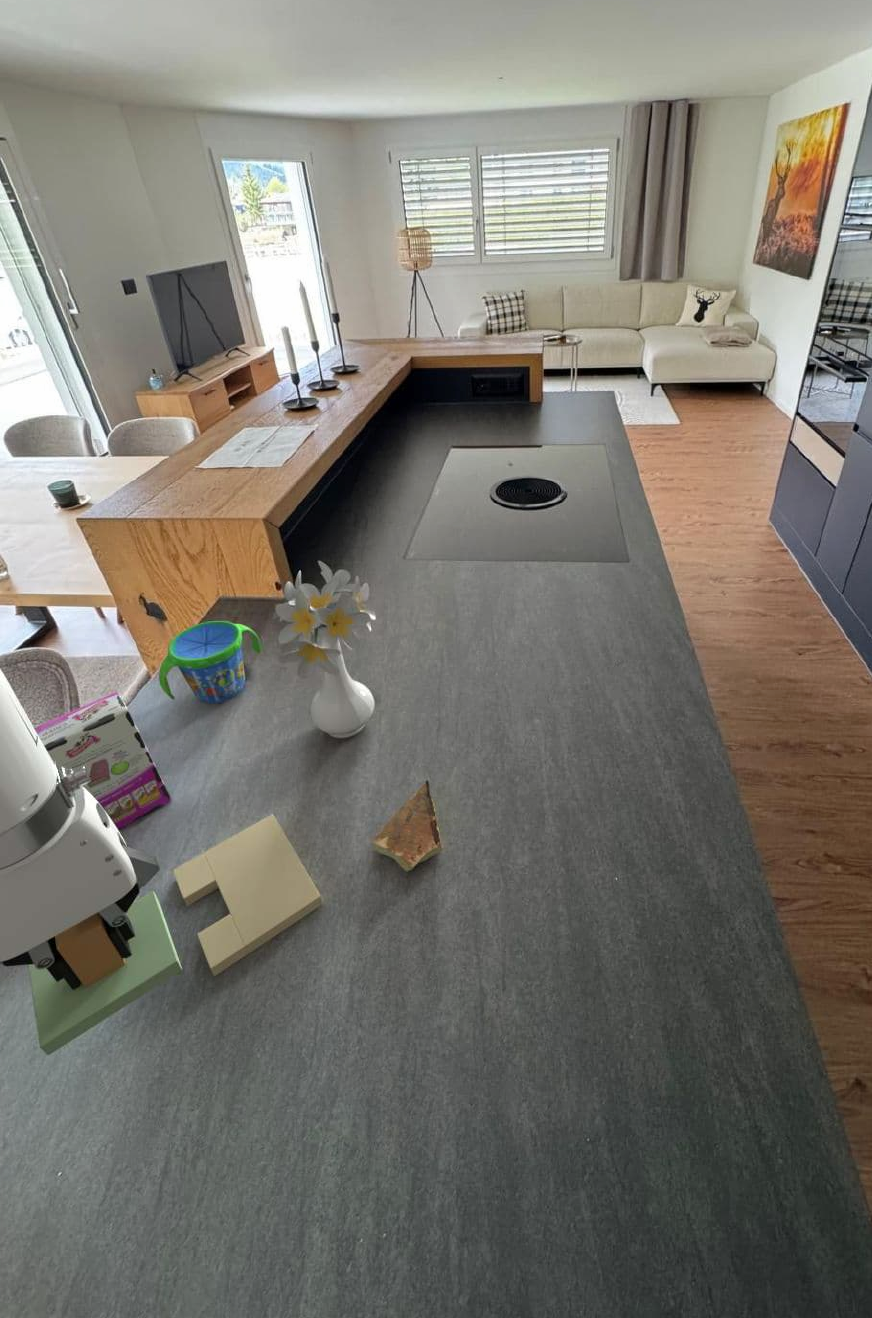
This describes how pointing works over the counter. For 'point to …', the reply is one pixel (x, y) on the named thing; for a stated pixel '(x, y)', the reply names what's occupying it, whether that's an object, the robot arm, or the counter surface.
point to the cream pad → (248, 891)
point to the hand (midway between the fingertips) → (99, 957)
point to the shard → (411, 832)
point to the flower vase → (329, 647)
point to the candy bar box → (107, 758)
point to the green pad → (113, 989)
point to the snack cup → (209, 660)
